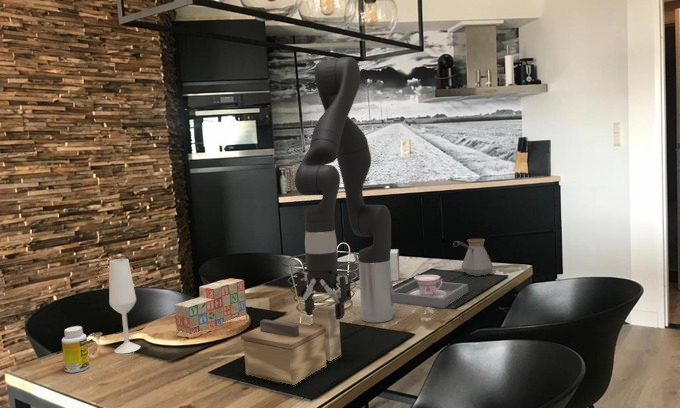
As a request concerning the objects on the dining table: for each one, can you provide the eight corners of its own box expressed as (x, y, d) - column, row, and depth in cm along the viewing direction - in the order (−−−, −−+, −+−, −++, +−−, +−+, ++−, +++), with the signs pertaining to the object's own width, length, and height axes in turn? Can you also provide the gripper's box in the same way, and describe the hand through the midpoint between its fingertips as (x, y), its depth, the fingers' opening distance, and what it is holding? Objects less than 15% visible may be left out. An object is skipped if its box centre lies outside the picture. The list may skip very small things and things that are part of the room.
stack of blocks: (191, 340, 160) (187, 296, 158) (176, 336, 163) (173, 293, 162) (247, 318, 177) (244, 279, 175) (233, 316, 180) (230, 277, 179)
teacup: (410, 301, 183) (409, 282, 182) (408, 291, 195) (407, 273, 194) (448, 300, 182) (448, 280, 181) (444, 290, 194) (443, 272, 193)
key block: (326, 353, 143) (323, 305, 142) (341, 356, 140) (338, 307, 139) (315, 359, 139) (312, 310, 138) (330, 362, 137) (327, 312, 136)
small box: (398, 281, 213) (397, 252, 212) (383, 281, 214) (382, 253, 213) (400, 276, 221) (398, 248, 220) (385, 276, 222) (383, 249, 221)
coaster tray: (415, 287, 202) (414, 279, 201) (468, 293, 191) (467, 284, 190) (387, 302, 186) (387, 292, 185) (444, 308, 175) (443, 298, 174)
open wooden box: (279, 357, 142) (277, 325, 141) (326, 366, 134) (324, 333, 133) (246, 374, 132) (243, 340, 131) (294, 386, 124) (291, 349, 123)
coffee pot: (470, 269, 225) (469, 231, 224) (498, 272, 218) (497, 232, 216) (442, 281, 209) (441, 240, 207) (471, 284, 201) (470, 242, 200)
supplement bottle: (84, 372, 139) (80, 331, 138) (61, 374, 139) (56, 333, 138) (93, 364, 145) (89, 324, 144) (70, 365, 145) (66, 325, 144)
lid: (281, 321, 143) (280, 308, 143) (330, 329, 135) (329, 315, 134) (241, 339, 131) (240, 325, 131) (291, 349, 123) (290, 333, 123)
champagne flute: (145, 347, 155) (137, 259, 153) (122, 355, 150) (113, 264, 148) (132, 342, 160) (124, 257, 157) (109, 350, 154) (100, 261, 152)
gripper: (355, 248, 136) (358, 316, 138) (306, 245, 144) (310, 309, 146) (336, 254, 130) (340, 324, 132) (287, 250, 138) (291, 317, 140)
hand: (324, 316), depth 139 cm, fingers open, 8 cm apart
